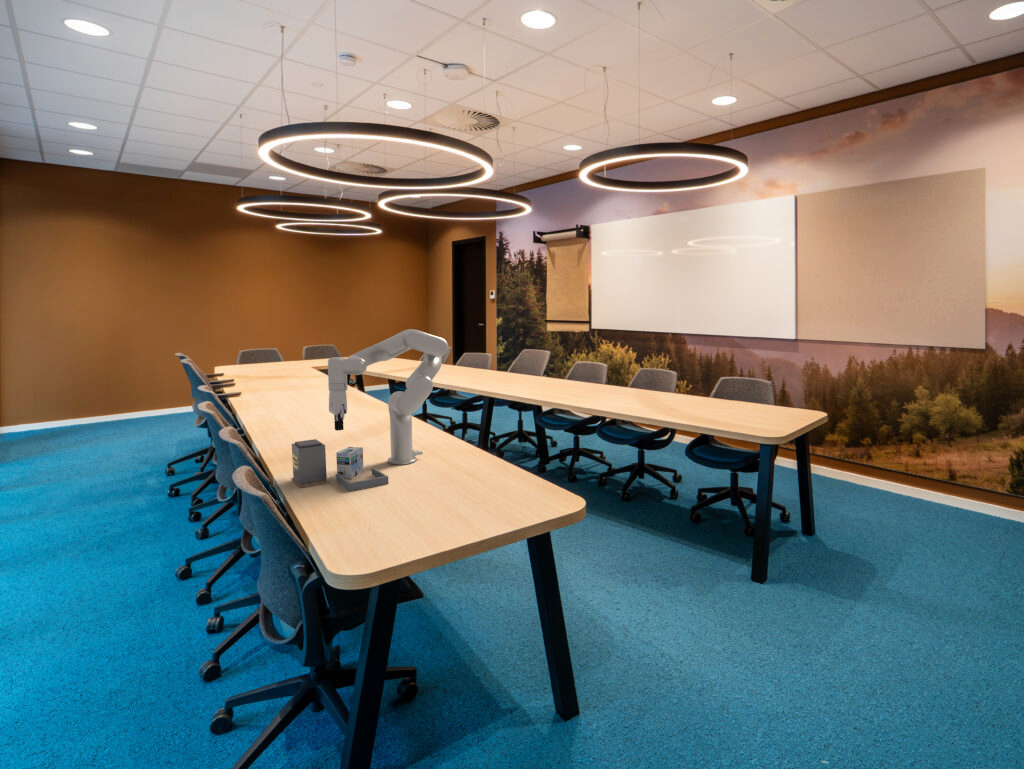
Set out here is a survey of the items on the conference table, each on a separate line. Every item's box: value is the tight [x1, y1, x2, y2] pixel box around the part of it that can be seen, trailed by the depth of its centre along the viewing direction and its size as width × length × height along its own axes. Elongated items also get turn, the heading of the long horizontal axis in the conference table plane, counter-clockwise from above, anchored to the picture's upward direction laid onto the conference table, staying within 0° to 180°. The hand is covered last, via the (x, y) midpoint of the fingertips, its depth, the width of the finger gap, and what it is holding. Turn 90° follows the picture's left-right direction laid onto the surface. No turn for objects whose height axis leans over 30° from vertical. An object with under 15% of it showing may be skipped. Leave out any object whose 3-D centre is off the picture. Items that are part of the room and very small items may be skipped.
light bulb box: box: [335, 446, 365, 480], centre depth 220 cm, size 11×7×11 cm, turn 168°
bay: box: [335, 467, 389, 492], centre depth 211 cm, size 16×15×3 cm
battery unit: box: [290, 438, 330, 489], centre depth 212 cm, size 11×12×16 cm
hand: (339, 429), depth 228 cm, fingers closed
